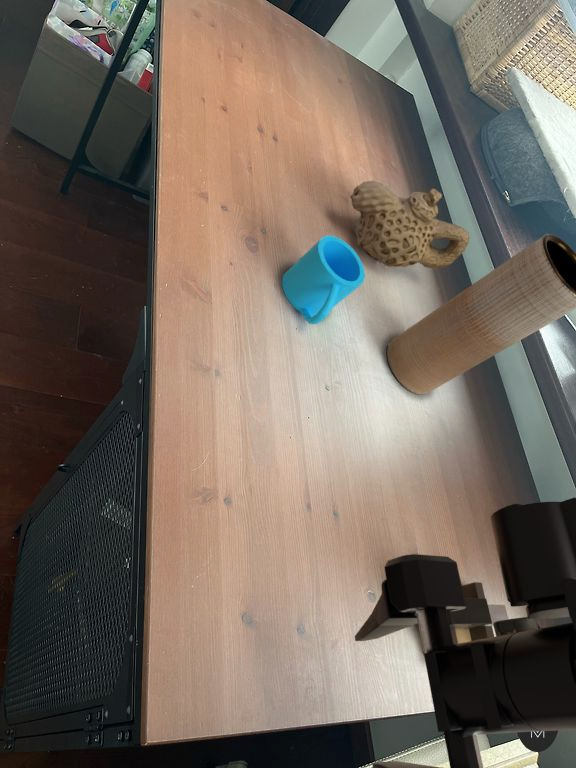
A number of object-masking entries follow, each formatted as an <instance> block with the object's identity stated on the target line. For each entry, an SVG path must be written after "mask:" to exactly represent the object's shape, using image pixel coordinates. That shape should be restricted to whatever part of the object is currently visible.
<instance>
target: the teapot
mask: <svg viewBox="0 0 576 768" xmlns="http://www.w3.org/2000/svg"><path fill="white" fill-rule="evenodd" d="M408 196H409V197H400V196H397V195H396V193H395V192H394V191H393V190H392V189H390V188H389V186H387V185H384V184H383V183H382V182H378V181H377V180H368V181H363V182H361V183H359V185H356V186H355V187H354V188H353V192H352V193H351V195H350V196H349V197H350V199H351V200H350V201H351V206H352V208H353V209H354V210H355V211H356V212H357V211H358V212H359V213H360V215H359V216H358V219H357V222H356V223H355V225H356V228H355V229H354V233H355V237H356V238H357V240H356V246H357V247H358V248H359V249H360V248H361V249H362V250H363V251H364V252H365V253H366V254H367V255H368V256H369V257H370V258H372V259H373V260H376V261H379V263H382V264H383V265H384V266H386V267H388V268H400V267H402V268H406V267H410V266H414V265H416V264H420V265H422V266H423V267H424V268H429V269H441V268H445V267H448V266H449V265H451V264H454V262H455V261H456V260H457V259H458V258H459V257H460V256H461V255H462V254H463V253H464V252H465V250H466V249H467V247H468V245H469V243H470V233H469V231H468V230H467V229H465V228H464V227H462V226H460V225H458V224H456V223H450V222H446V221H444V220H441V219H438V218H436V217H437V216H438V214H439V208H438V205H437V203H438V202H439V201H440V200H441V199H442V197H443V194H442V193H441V192H440V191H439V190H437V189H436V188H431V189H429V190H428V192H423V191H414V192H412V193H410V194H409V195H408ZM438 239H445V240H449V243H448V245H447V246H446V247H444V248H443V247H442V248H437V247H435V246H434V245H433V244H432V241H434V240H438Z"/></svg>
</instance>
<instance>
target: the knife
mask: <svg viewBox="0 0 576 768" xmlns="http://www.w3.org/2000/svg"><path fill="white" fill-rule="evenodd" d="M465 603H466V608H465V609H461V610H457V611H449V610H448V609H446V610H447V615H448V620H449V625H450V629H454V628H474V627H479V626H492V627H494V625H493V623H494V622H496V621H501V620H507V619H509V615H508V612H507V608H506V604H489V603H488V600H487V598H485V599H482V598H465Z"/></svg>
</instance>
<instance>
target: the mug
mask: <svg viewBox="0 0 576 768" xmlns="http://www.w3.org/2000/svg"><path fill="white" fill-rule="evenodd" d="M365 276H366V273H365V268H364V265H363V262H362V260H361V259H360V257H359V255H358V253H357V252H356V251H355V250H354V248H353V247H352V246H351V245H350V244H348V243H347V242H346V241H345V240H343V239H341V238H339V237H337V236H335V235H325V236H322V237H321V238H320V239H319V240H318V241H317V242H316V243H315V244H314V245H313V246H312V247H311V248H310V249H308V250H307V252H306V253H304V255H302V256H301V257H300V258H299V259H298V260H297V261H296V262H295V263H294V264H293V265H292V266H291V267H290V268H289V269H287V271H285V272H284V273H283V275H282V278H281V284H282V285H281V287H282V290H283V293H284V296H285V298H286V299H287V301H288V302H289V303H290V305H291V306H292V307H293V308H294V309H295V311H297V312H299V313H300V314H302V316H303V319H304V320H305V322H307V323H308V324H310V325H318V324H319V323H321V322H323V321H324V320H325V319H326V317H328V315H329V314H330V312H331V311H332V309H333V308H334V307H336V306H337V305H338V304H339V303H340V302H342V301H343V300H344V299H346V298H347V297H349V295H350V294H352V293H353V292H354V291H356V289H358V288H359V287H360V286H361V285H362V284H363V283H364V281H365V278H366V277H365Z"/></svg>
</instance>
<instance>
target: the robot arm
mask: <svg viewBox="0 0 576 768" xmlns="http://www.w3.org/2000/svg"><path fill="white" fill-rule="evenodd" d="M489 518H490V519H489V520H490V524H491V530H492V533H493V539H494V544H495V548H496V552H497V558H498V562H499V566H500V567H499V568H500V572H501V578H502V581H503V586H504V591H505V596H506V598H507V599H506V601H507V602H509V604H510V607H513V608H515V607H524V606H525V612H526V616H523V617H517V618H515V617H514V618H508V619H507V620H501V621H496V622H494V623H493V625H494V626H493V631H494V635H495V636H494V637H491V638H486V639H480V640H475V641H469V642H464V643H458V644H453V639H452V634H451V629H450V625H449V620H448V615H447V610H446V609H448V610H449V611H457V610H461V609H465V608H466V603H465V598H464V594H463V589H462V585H463V584H462V580H461V576H460V571H459V567H458V562H456V561H455V560H454V559H452V558H451V557H449V556H446V555H445V556H444V555H430V554H417V553H411V554H405V555H400V556H397V557H394V558H391V559H388V560H387V561H386V564H385V565H384V573H385V579H384V580H383V581H381V585H380V587H381V595H380V596H379V599H378V601H377V602H376V604H375V606H374V608H373V610H372V612H371V613H370V615H369V616H368V618H366V621H365V622H364V623H363V624H362V626H361V627H360V628H359V630H358V631H357V632H356V634H355V635H354V642H365V641H373V640H377V639H380V638H383V637H385V636H388V635H391V634H394V633H396V632H399V631H401V630H404V629H406V628H410V627H412V626H416V625H418V630H419V636H420V641H421V646H422V652H423V658H424V663H425V667H426V673H427V674H426V675H427V679H428V683H429V689H430V693H431V699H432V700H431V701H432V705H433V706H432V707H433V711H434V716H435V722H436V726H437V732H438V733H443V737H444V742H445V746H446V752H447V758H448V763H449V768H484V765H483V760H482V755H481V749H480V746H479V742H478V736H477V735H493V734H496V735H497V734H512V733H513V734H515V733H533V732H552V731H553V732H555V731H571V730H572V731H573V730H575V731H576V497H572V498H568V499H565V500H563V501H540V502H531V503H526V504H521V503H512V504H510V505H507V506H504V507H502V508H499V509H498V510H495V512H493V513H492V514H491V515H490V517H489ZM560 618H561V619H562V618H569V619H571V622H568V623H563V624H557V625H551V626H545V627H542V624H541V621H540V620H551V619H552V620H553V619H560ZM372 768H443V767H440V766H434V765H433V766H432V765H426V764H420V763H419V764H418V763H413V762H405V761H398V760H393V761H391V760H390V761H379V762H374V763H372Z"/></svg>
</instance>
